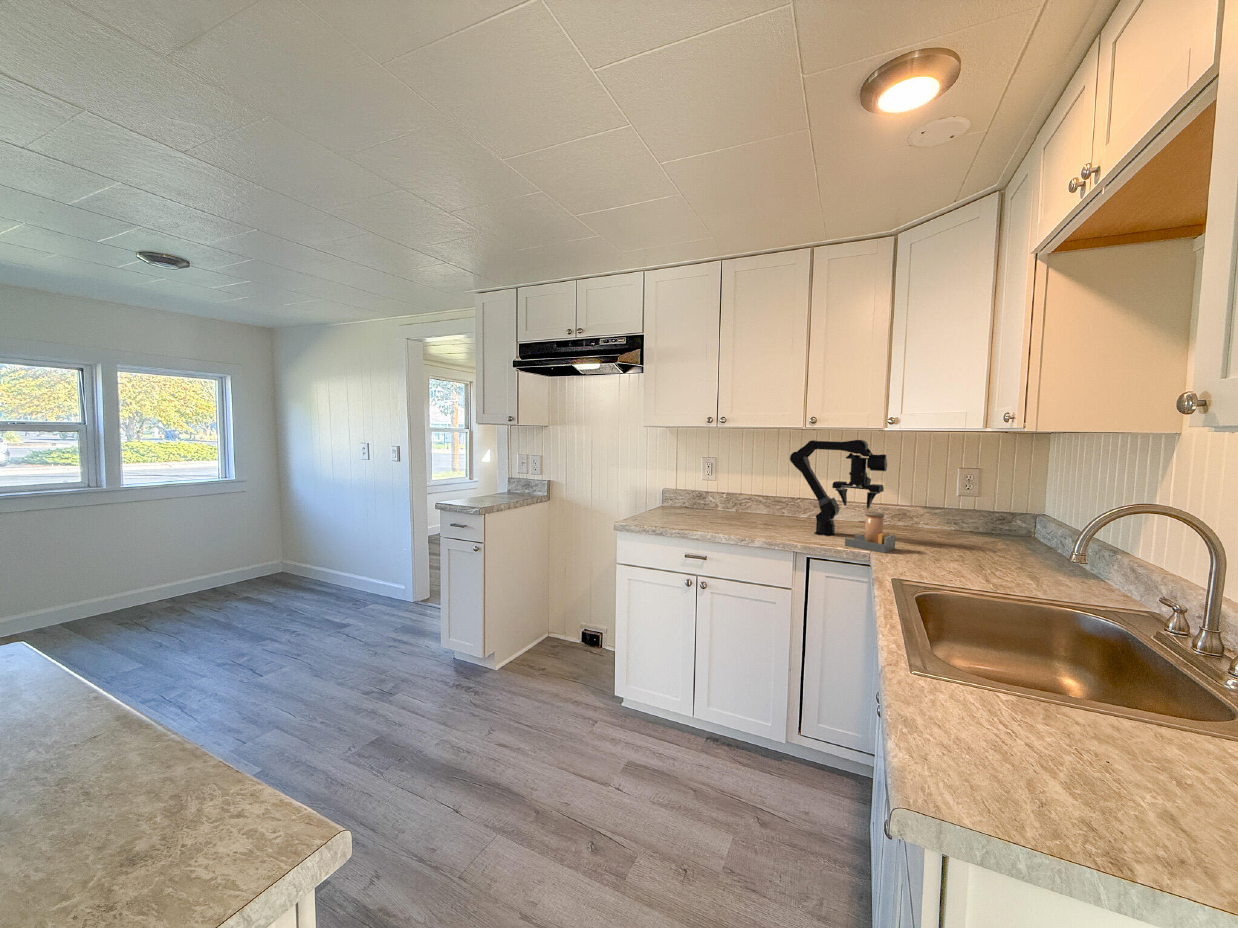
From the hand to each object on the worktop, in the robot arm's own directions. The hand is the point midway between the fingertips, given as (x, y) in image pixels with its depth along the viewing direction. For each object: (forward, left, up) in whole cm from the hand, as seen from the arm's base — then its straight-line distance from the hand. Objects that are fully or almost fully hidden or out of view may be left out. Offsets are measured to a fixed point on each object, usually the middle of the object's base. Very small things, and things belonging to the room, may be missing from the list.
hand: (856, 507), depth 204 cm
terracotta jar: (+12, -13, -12) cm, 22 cm away
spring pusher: (+15, -13, -12) cm, 24 cm away
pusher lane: (+11, -13, -13) cm, 21 cm away
